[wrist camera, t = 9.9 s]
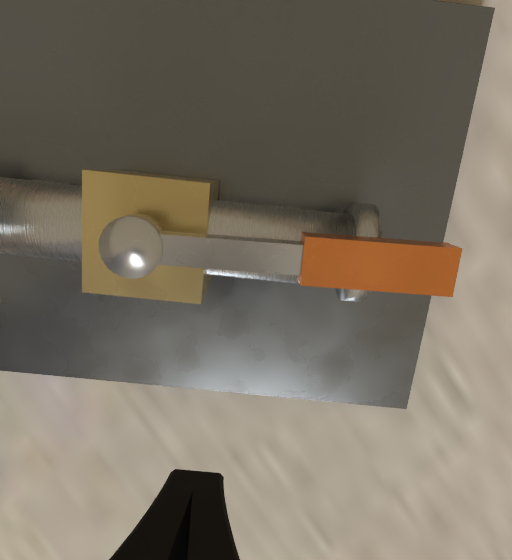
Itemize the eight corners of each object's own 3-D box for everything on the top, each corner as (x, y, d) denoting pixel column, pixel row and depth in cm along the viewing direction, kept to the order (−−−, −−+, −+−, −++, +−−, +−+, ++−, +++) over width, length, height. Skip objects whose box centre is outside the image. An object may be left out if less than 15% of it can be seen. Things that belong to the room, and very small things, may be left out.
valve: (-3, 360, 22) (-87, 422, 16) (-25, -45, 17) (-152, -142, 12) (399, 398, 22) (445, 470, 17) (481, 16, 18) (579, -50, 12)
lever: (110, 269, 15) (98, 276, 14) (109, 210, 14) (97, 214, 13) (437, 293, 15) (451, 302, 14) (448, 236, 14) (463, 242, 13)
